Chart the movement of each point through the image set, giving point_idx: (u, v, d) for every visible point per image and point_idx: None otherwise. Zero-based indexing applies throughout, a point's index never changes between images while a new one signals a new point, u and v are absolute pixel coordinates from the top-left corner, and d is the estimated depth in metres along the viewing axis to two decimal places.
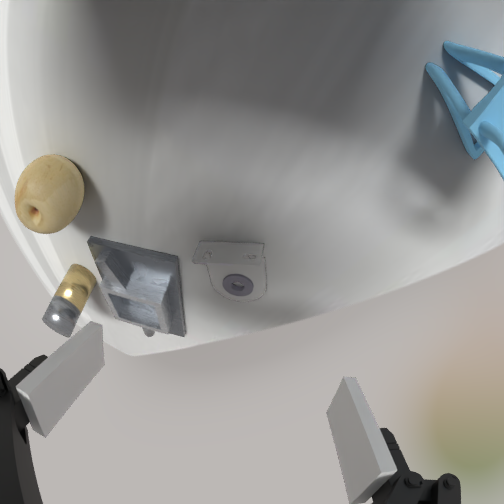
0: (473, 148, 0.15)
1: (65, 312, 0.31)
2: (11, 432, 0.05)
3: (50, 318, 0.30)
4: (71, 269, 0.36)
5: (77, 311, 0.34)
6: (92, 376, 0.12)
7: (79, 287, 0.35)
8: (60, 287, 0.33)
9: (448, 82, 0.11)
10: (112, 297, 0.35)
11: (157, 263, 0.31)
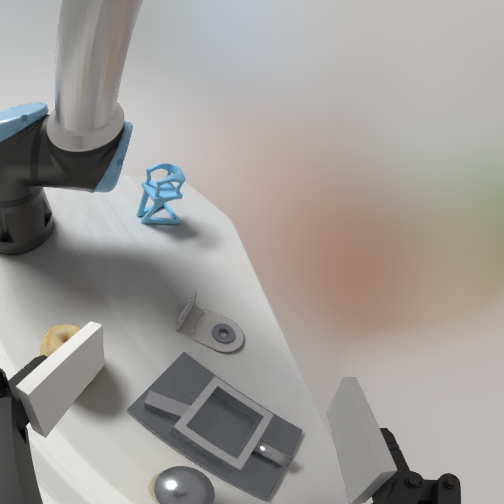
0: (175, 219, 0.58)
1: None
2: (11, 432, 0.05)
3: (160, 474, 0.16)
4: (150, 484, 0.20)
5: None
6: (92, 376, 0.12)
7: None
8: (151, 485, 0.18)
9: (146, 212, 0.54)
10: None
11: (179, 365, 0.34)
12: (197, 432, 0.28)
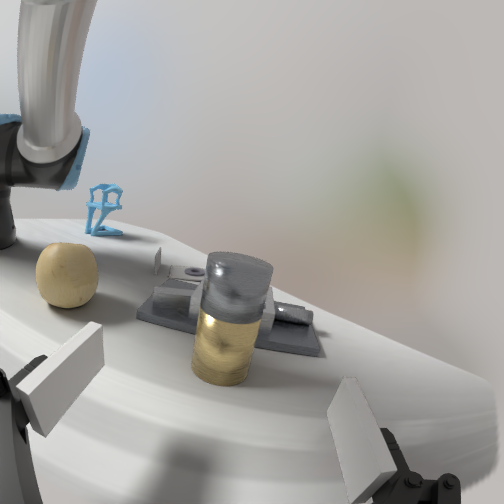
0: (118, 231, 0.62)
1: None
2: (11, 432, 0.05)
3: None
4: (193, 358, 0.22)
5: None
6: (92, 376, 0.12)
7: None
8: (198, 325, 0.21)
9: None
10: None
11: (170, 284, 0.37)
12: None
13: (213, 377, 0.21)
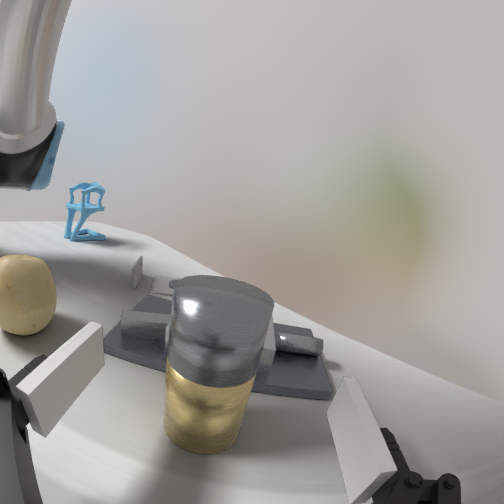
0: (101, 235, 0.54)
1: None
2: (11, 432, 0.05)
3: None
4: (164, 416, 0.15)
5: None
6: (92, 376, 0.12)
7: None
8: (166, 380, 0.14)
9: None
10: None
11: (147, 303, 0.30)
12: None
13: (191, 445, 0.13)
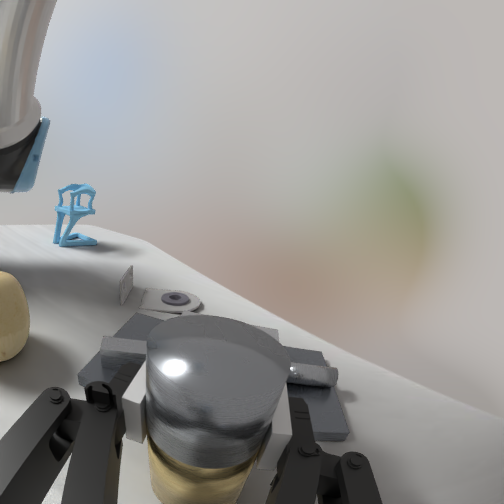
0: (92, 240, 0.50)
1: None
2: (108, 450, 0.06)
3: None
4: None
5: None
6: None
7: None
8: (148, 445, 0.09)
9: (63, 233, 0.44)
10: None
11: (135, 323, 0.25)
12: None
13: None
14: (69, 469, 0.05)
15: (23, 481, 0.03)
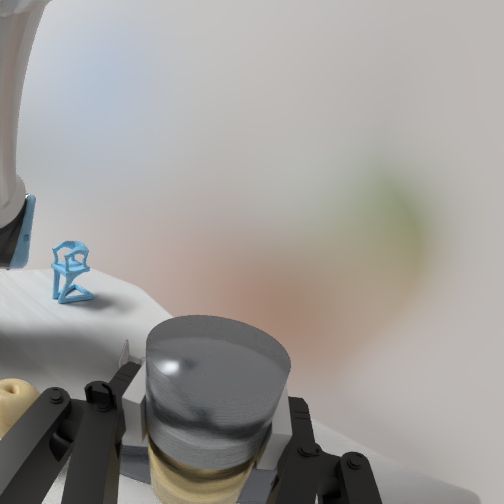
0: (88, 294, 0.52)
1: None
2: (108, 450, 0.06)
3: None
4: (150, 475, 0.10)
5: None
6: None
7: None
8: (148, 445, 0.09)
9: (61, 291, 0.46)
10: None
11: None
12: None
13: None
14: (69, 469, 0.05)
15: (23, 481, 0.03)
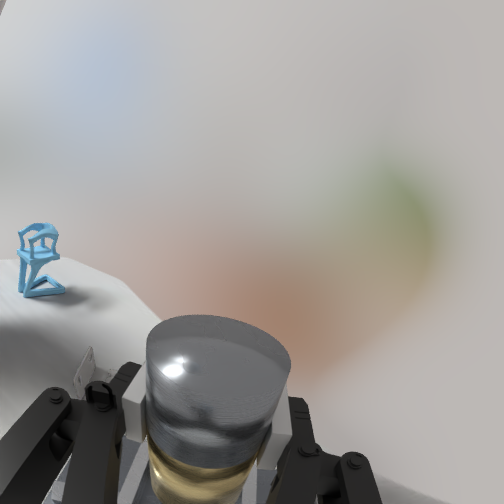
0: (59, 287, 0.41)
1: None
2: (108, 450, 0.06)
3: None
4: None
5: None
6: None
7: None
8: (148, 445, 0.09)
9: None
10: None
11: None
12: None
13: None
14: (69, 469, 0.05)
15: (23, 481, 0.03)
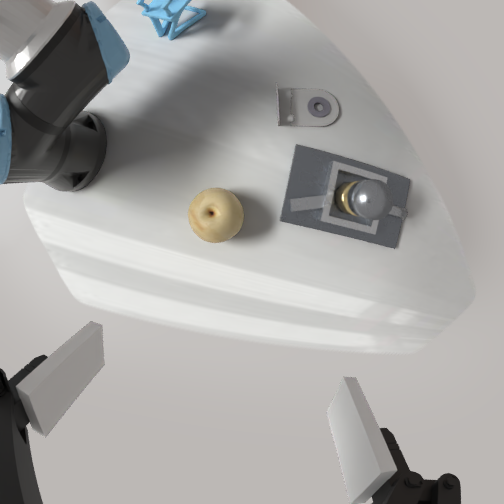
0: (200, 13, 0.35)
1: (359, 183, 0.33)
2: (11, 432, 0.05)
3: (357, 192, 0.31)
4: (337, 200, 0.40)
5: None
6: (92, 376, 0.12)
7: (348, 183, 0.37)
8: (344, 202, 0.37)
9: None
10: (339, 218, 0.40)
11: (299, 159, 0.40)
12: (335, 210, 0.41)
13: (346, 213, 0.41)
14: None
15: None
